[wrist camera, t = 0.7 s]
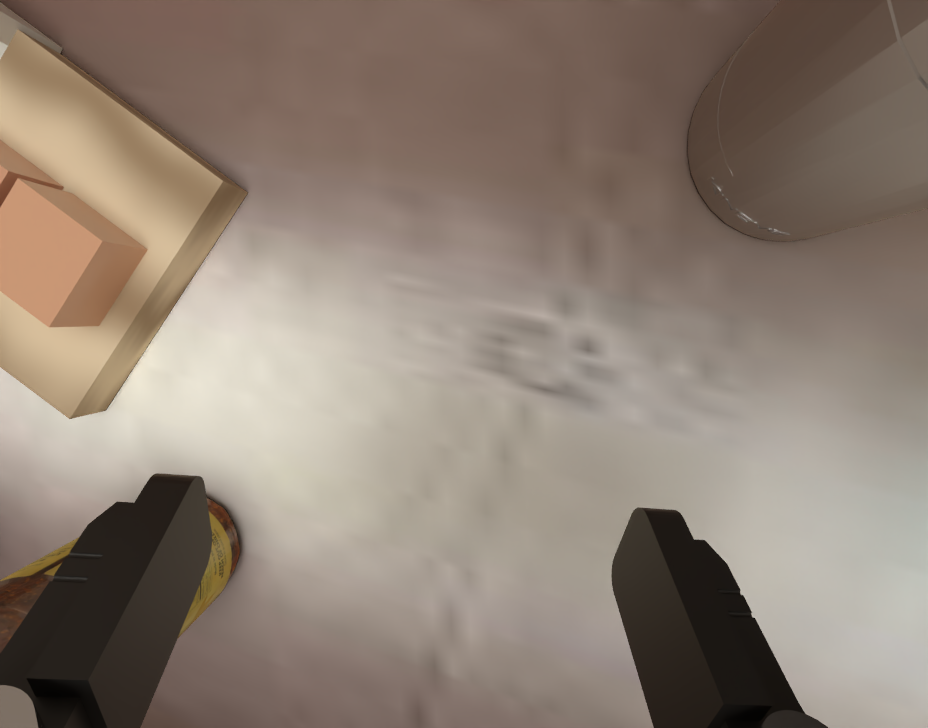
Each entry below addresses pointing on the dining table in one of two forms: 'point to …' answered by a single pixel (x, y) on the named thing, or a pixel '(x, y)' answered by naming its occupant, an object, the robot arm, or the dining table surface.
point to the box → (5, 23)
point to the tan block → (62, 256)
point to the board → (121, 202)
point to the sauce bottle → (16, 594)
